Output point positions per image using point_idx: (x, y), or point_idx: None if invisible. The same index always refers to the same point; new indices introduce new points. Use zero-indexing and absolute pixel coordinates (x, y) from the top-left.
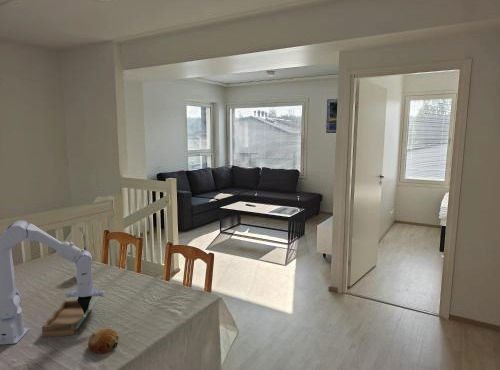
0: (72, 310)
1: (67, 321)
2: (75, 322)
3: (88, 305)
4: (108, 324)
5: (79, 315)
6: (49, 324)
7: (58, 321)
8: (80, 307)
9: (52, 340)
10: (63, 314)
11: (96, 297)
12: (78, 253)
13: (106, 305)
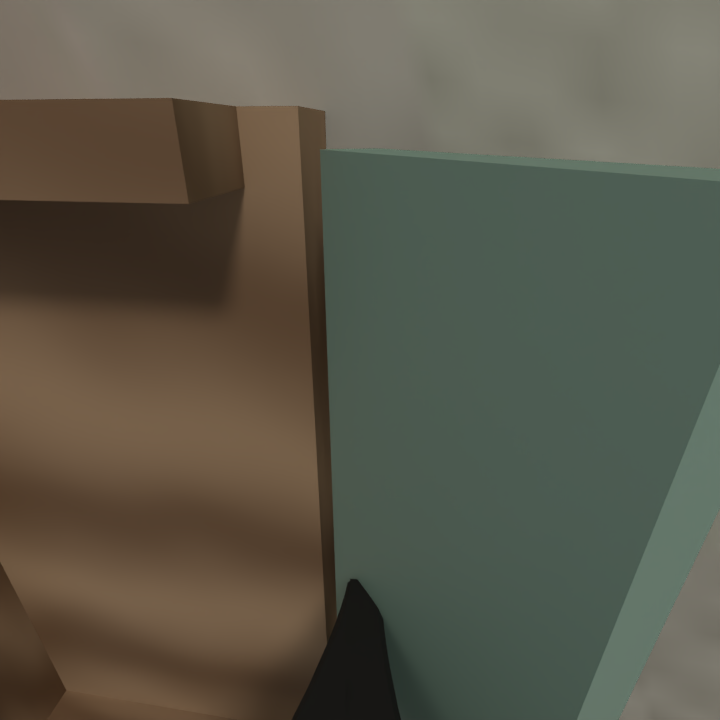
0: (52, 367)
1: (179, 618)
2: (292, 660)
3: (396, 714)
4: (700, 638)
5: (264, 534)
6: (27, 675)
7: (68, 596)
8: (131, 275)
9: None
10: (1, 461)
11: (614, 654)
12: None
13: (670, 2)
